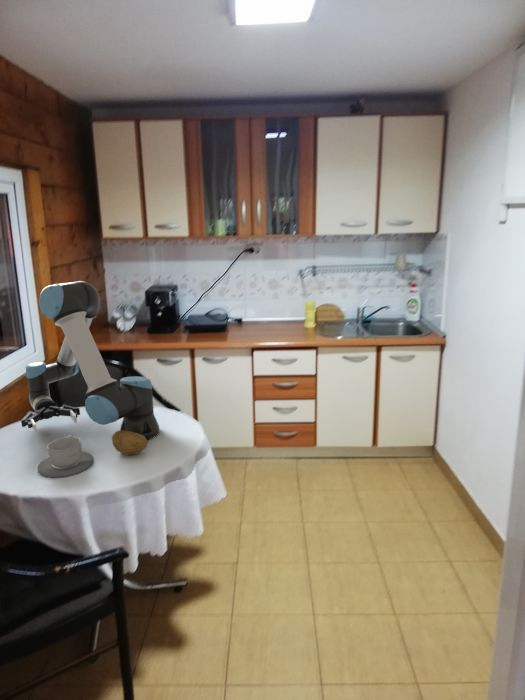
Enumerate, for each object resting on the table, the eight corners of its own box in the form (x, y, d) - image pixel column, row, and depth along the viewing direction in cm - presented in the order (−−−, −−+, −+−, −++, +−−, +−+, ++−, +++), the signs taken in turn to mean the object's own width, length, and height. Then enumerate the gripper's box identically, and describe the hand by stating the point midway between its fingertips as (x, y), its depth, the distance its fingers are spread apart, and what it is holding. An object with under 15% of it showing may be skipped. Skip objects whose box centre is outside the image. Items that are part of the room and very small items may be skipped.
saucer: (102, 454, 179) (102, 451, 178) (78, 479, 161) (78, 476, 161) (55, 452, 181) (55, 449, 181) (27, 476, 164) (26, 473, 163)
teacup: (74, 472, 164) (71, 449, 162) (43, 471, 165) (40, 449, 163) (92, 453, 177) (90, 432, 175) (63, 452, 178) (60, 431, 176)
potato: (137, 462, 172) (135, 441, 170) (106, 455, 178) (104, 434, 176) (155, 451, 181) (153, 431, 179) (125, 444, 187) (123, 424, 185)
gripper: (78, 409, 201) (92, 425, 184) (11, 423, 188) (19, 442, 171) (76, 391, 200) (90, 406, 182) (8, 405, 187) (15, 421, 169)
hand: (55, 423), depth 176 cm, fingers open, 13 cm apart
